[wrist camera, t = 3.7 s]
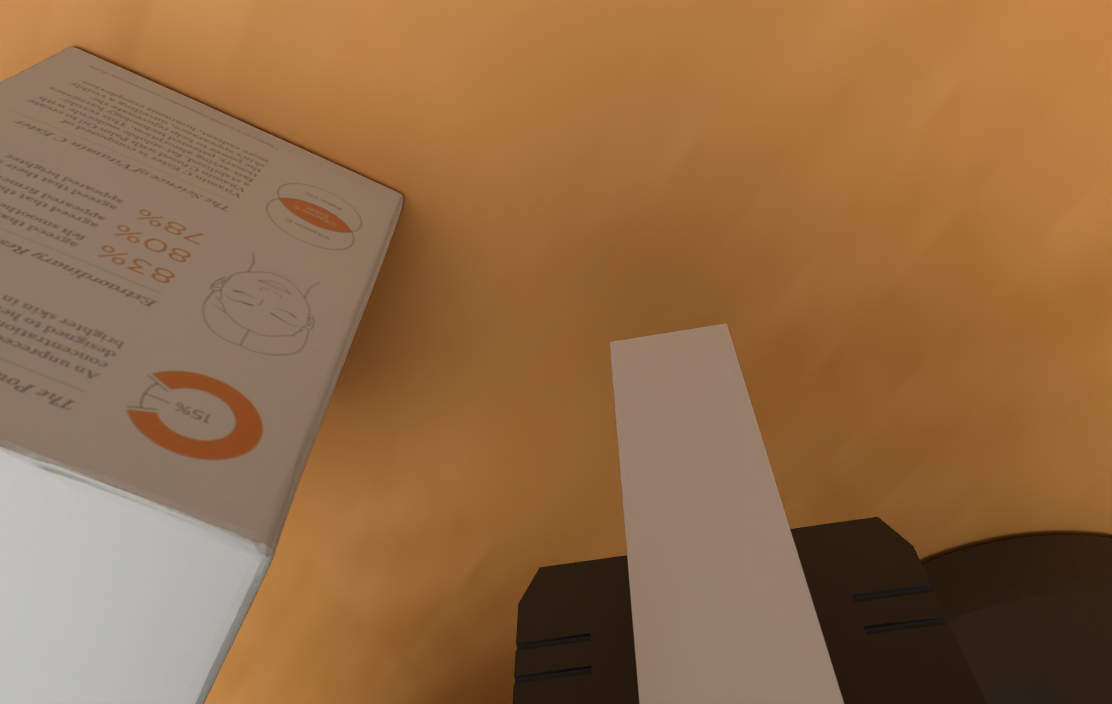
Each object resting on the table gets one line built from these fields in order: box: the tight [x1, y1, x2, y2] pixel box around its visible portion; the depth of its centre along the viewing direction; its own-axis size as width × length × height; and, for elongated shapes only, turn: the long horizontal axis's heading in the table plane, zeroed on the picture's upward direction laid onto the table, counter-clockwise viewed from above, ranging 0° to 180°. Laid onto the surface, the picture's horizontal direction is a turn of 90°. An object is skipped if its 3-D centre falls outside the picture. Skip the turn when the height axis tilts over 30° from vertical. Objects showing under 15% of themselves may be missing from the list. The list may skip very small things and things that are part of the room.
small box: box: [0, 47, 403, 704], centre depth 19 cm, size 8×6×13 cm
